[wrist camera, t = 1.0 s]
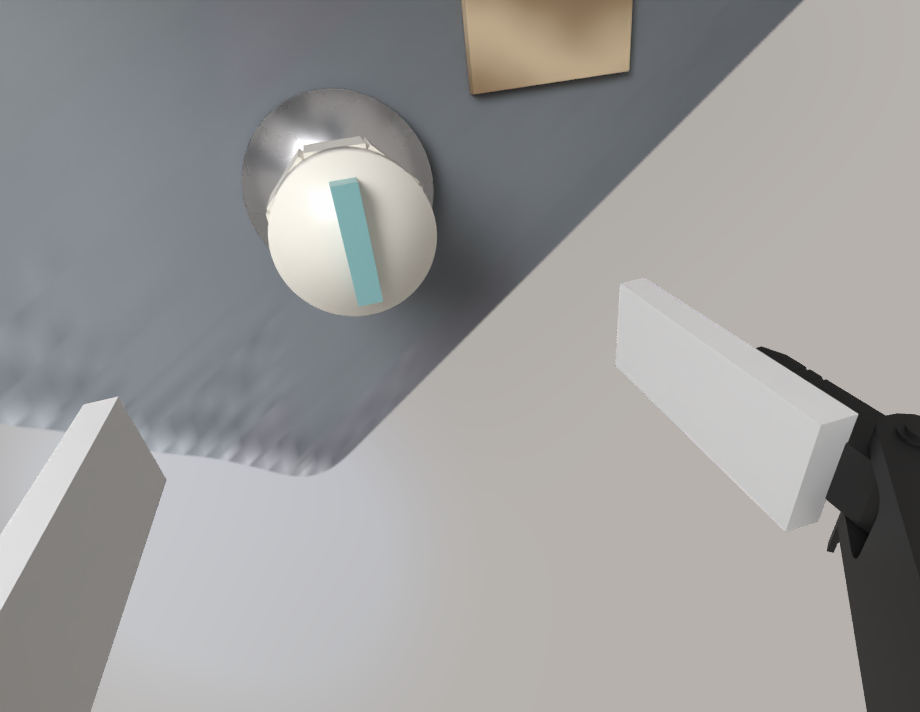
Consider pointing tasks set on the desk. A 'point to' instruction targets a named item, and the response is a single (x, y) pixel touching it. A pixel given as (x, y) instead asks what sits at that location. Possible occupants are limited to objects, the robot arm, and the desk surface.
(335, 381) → the desk surface
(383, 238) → the cap
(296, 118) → the bayonet post
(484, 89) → the coaster
